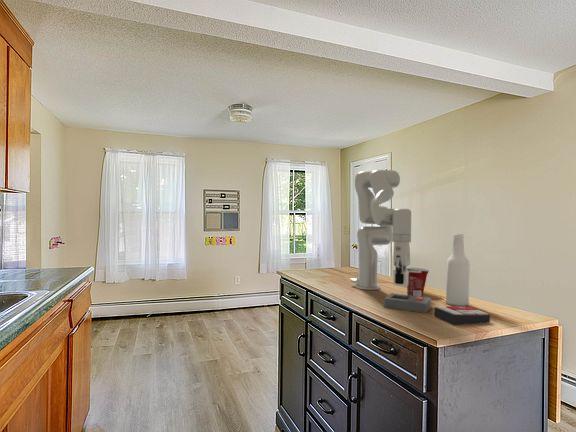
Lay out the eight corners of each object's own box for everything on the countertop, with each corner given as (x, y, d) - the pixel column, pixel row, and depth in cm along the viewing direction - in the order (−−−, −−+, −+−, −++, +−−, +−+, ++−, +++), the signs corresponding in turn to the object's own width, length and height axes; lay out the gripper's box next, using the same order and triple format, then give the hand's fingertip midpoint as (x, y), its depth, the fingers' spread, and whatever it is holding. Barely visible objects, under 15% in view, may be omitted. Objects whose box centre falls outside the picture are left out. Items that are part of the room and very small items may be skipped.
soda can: (423, 299, 161) (424, 272, 161) (407, 298, 162) (408, 272, 162) (421, 296, 167) (421, 270, 167) (406, 295, 169) (406, 269, 169)
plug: (393, 285, 147) (393, 264, 147) (396, 283, 151) (396, 263, 151) (405, 286, 145) (406, 265, 145) (408, 284, 149) (408, 264, 149)
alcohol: (442, 301, 158) (444, 233, 158) (463, 302, 157) (464, 233, 157) (450, 306, 149) (452, 234, 149) (472, 307, 148) (473, 234, 148)
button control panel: (491, 313, 126) (454, 313, 123) (490, 325, 126) (453, 325, 123) (468, 305, 137) (434, 305, 133) (467, 316, 137) (433, 316, 133)
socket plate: (384, 307, 146) (384, 296, 146) (391, 301, 156) (391, 291, 156) (425, 313, 138) (426, 301, 138) (430, 306, 148) (430, 296, 148)
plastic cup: (433, 293, 174) (434, 268, 174) (420, 295, 168) (420, 270, 168) (414, 289, 183) (415, 265, 183) (400, 291, 177) (401, 267, 177)
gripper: (406, 239, 139) (405, 286, 139) (414, 238, 154) (414, 280, 153) (386, 238, 143) (386, 284, 142) (397, 237, 157) (396, 279, 157)
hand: (400, 282), depth 148 cm, fingers closed on plug, 4 cm apart
